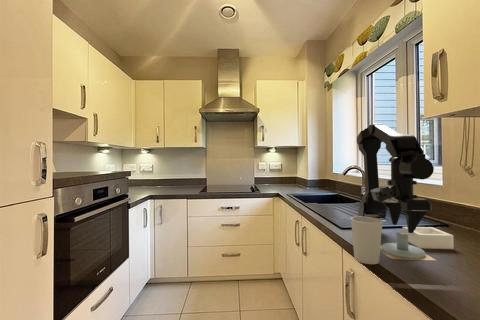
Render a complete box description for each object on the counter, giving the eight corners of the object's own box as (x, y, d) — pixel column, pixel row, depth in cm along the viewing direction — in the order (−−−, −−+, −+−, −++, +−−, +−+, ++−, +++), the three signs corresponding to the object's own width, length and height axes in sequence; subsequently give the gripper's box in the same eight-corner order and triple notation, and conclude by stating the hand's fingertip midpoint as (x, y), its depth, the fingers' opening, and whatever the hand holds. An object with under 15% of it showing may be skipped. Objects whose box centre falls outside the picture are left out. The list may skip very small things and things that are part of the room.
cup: (374, 257, 76) (374, 216, 76) (388, 268, 68) (388, 223, 68) (347, 256, 76) (346, 216, 76) (357, 268, 68) (357, 222, 68)
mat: (373, 247, 84) (373, 244, 84) (412, 248, 83) (412, 245, 83) (391, 261, 72) (391, 258, 72) (436, 263, 71) (436, 260, 71)
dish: (402, 240, 91) (402, 226, 91) (432, 241, 90) (432, 227, 90) (419, 250, 81) (419, 234, 81) (453, 251, 80) (453, 235, 80)
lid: (375, 245, 84) (375, 228, 84) (411, 246, 83) (411, 229, 83) (392, 258, 73) (392, 238, 73) (433, 259, 72) (433, 239, 72)
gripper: (362, 175, 88) (362, 220, 88) (388, 179, 69) (388, 237, 69) (397, 175, 87) (397, 221, 87) (432, 179, 68) (432, 238, 68)
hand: (402, 228), depth 78 cm, fingers open, 9 cm apart
